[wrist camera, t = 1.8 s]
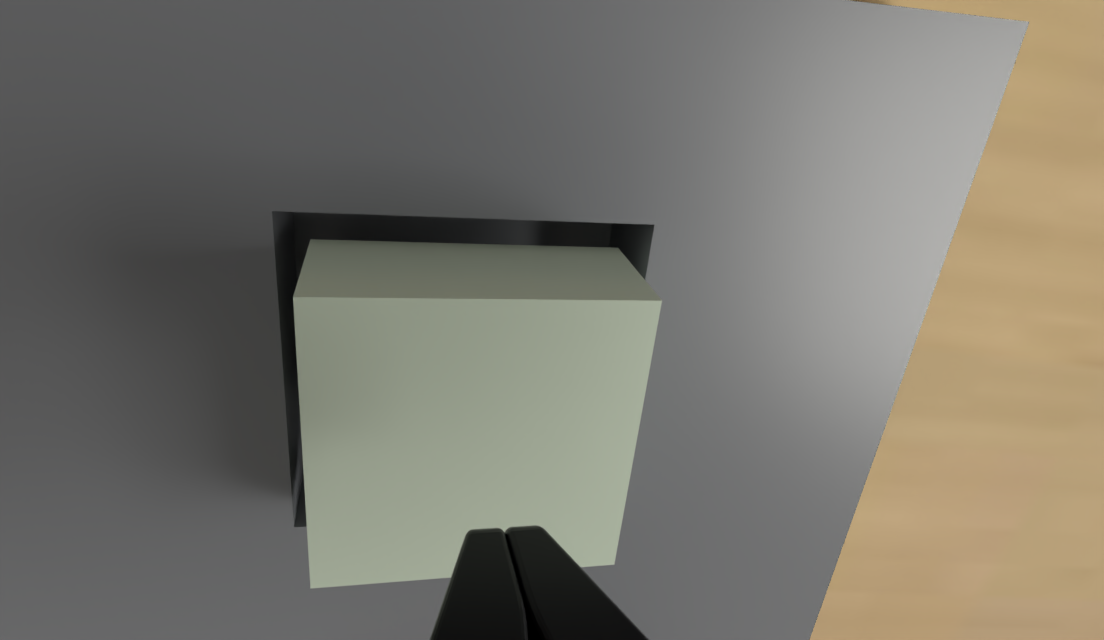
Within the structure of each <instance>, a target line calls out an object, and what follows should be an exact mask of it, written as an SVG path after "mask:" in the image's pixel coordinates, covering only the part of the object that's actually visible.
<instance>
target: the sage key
mask: <svg viewBox="0 0 1104 640" xmlns="http://www.w3.org/2000/svg"><path fill="white" fill-rule="evenodd" d="M661 304H662V300H661V299H660V298H659V296H658V295H657V294H656V293H655V292H654V290H653V289H652V288H651V287H650V286H649V284H648V283H647V282H646V281H645V280H644V278H643V277H642V276H641V275H640V274H639V272H638V271H637V270H636V269H635V268H634V266H633V265H632V264H631V263H630V262H629V260H628V259H627V258H626V257H625V255H624V254H623V253H622V252H621V251H620V249H619V248H611V247H574V246H538V245H501V244H464V243H428V242H391V241H354V240H317V239H310V242H309V246H308V249H307V252H306V256H305V259H304V262H303V266H302V269H301V272H300V276H299V279H298V282H297V286H296V289H295V292H294V296H293V305H294V322H295V339H296V355H297V372H298V389H299V406H300V422H301V439H302V456H303V472H304V489H305V506H306V522H307V539H308V556H309V572H310V589H311V588H324V587H337V586H350V585H362V584H375V583H388V582H400V581H413V580H426V579H438V578H451V576H452V573H453V570H454V567H455V564H456V561H457V558H458V555H459V552H460V549H461V546H462V543H463V540H464V537H465V535H466V533H467V532H468V531H469V530H472V529H485V528H500V529H502V530H503V531H504V532H505V530H506V529H508V528H509V527H516V526H532V525H537V526H541V527H542V528H544V529H545V530H546V531H547V532H548V533H549V534H550V535H551V536H552V537H553V538H554V539H555V541H556V542H557V543H558V544H559V545H560V546H561V547H562V548H563V549H564V550H565V551H566V552H567V553H568V554H569V555H570V556H571V557H572V559H573V560H574V561H575V562H576V563H577V564H578V565H579V566H580V567H591V566H603V565H614V564H615V558H616V553H617V547H618V541H619V536H620V530H621V525H622V519H623V514H624V508H625V503H626V497H627V492H628V486H629V481H630V475H631V470H632V464H633V459H634V453H635V448H636V442H637V437H638V431H639V425H640V420H641V414H642V409H643V403H644V398H645V392H646V387H647V381H648V376H649V370H650V365H651V359H652V354H653V348H654V343H655V337H656V332H657V326H658V321H659V315H660V309H661Z"/></svg>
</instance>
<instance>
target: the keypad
mask: <svg viewBox="0 0 1104 640" xmlns="http://www.w3.org/2000/svg"><path fill="white" fill-rule="evenodd" d="M1028 24H1029V22H1026V21H1017V20H1009V19H1001V18H992V17H984V16H976V15H967V14H959V13H950V12H942V11H934V10H925V9H917V8H908V7H900V6H892V5H883V4H875V3H867V2H858V1H850V0H0V640H430V637H431V634H432V631H433V629H434V626H435V623H436V620H437V617H438V614H439V611H440V608H441V605H442V602H443V599H444V596H445V593H446V590H447V587H448V584H449V582H450V579H451V578H438V579H426V580H413V581H400V582H388V583H375V584H362V585H350V586H337V587H324V588H311V589H310V572H309V556H308V539H307V522H306V506H305V489H304V472H303V456H302V439H301V422H300V406H299V389H298V372H297V355H296V339H295V322H294V305H293V296H294V292H295V289H296V286H297V282H298V279H299V276H300V272H301V269H302V266H303V262H304V259H305V256H306V252H307V249H308V246H309V242H310V239H317V240H354V241H391V242H428V243H464V244H501V245H538V246H574V247H611V248H619V249H620V251H621V252H622V253H623V254H624V255H625V257H626V258H627V259H628V260H629V262H630V263H631V264H632V265H633V266H634V268H635V269H636V270H637V271H638V272H639V274H640V275H641V276H642V277H643V278H644V280H645V281H646V282H647V283H648V284H649V286H650V287H651V288H652V289H653V290H654V292H655V293H656V294H657V295H658V296H659V298H660V299H661V300H662V304H661V309H660V315H659V321H658V326H657V332H656V337H655V343H654V348H653V354H652V359H651V365H650V370H649V376H648V381H647V387H646V392H645V398H644V403H643V409H642V414H641V420H640V425H639V431H638V437H637V442H636V448H635V453H634V459H633V464H632V470H631V475H630V481H629V486H628V492H627V497H626V503H625V508H624V514H623V519H622V525H621V530H620V536H619V541H618V547H617V553H616V558H615V564H614V565H603V566H591V567H581V568H582V569H583V570H584V571H585V572H586V573H587V574H588V575H589V577H590V578H591V579H592V580H593V581H594V582H595V583H596V584H597V585H598V586H599V587H600V588H601V589H602V590H603V591H604V592H605V593H606V595H607V596H608V597H609V598H610V599H611V600H612V601H613V602H614V603H615V604H616V605H617V606H618V607H619V608H620V609H621V610H622V611H623V613H624V614H625V615H626V616H627V617H628V618H629V619H630V620H631V621H632V622H633V623H634V624H635V625H636V626H637V627H638V628H639V629H640V631H641V632H642V633H643V634H644V635H645V636H646V637H647V638H648V639H649V640H809V639H810V636H811V634H812V631H813V628H814V625H815V622H816V620H817V617H818V614H819V611H820V608H821V606H822V603H823V600H824V597H825V594H826V591H827V589H828V586H829V583H830V580H831V577H832V575H833V572H834V569H835V566H836V563H837V561H838V558H839V555H840V552H841V549H842V547H843V544H844V541H845V538H846V535H847V533H848V530H849V527H850V524H851V521H852V518H853V516H854V513H855V510H856V507H857V504H858V502H859V499H860V496H861V493H862V490H863V488H864V485H865V482H866V479H867V476H868V474H869V471H870V468H871V465H872V462H873V460H874V457H875V454H876V451H877V448H878V445H879V443H880V440H881V437H882V434H883V431H884V429H885V426H886V423H887V420H888V417H889V415H890V412H891V409H892V406H893V403H894V401H895V398H896V395H897V392H898V389H899V386H900V384H901V381H902V378H903V375H904V372H905V370H906V367H907V364H908V361H909V358H910V356H911V353H912V350H913V347H914V344H915V342H916V339H917V336H918V333H919V330H920V328H921V325H922V322H923V319H924V316H925V313H926V311H927V308H928V305H929V302H930V299H931V297H932V294H933V291H934V288H935V285H936V283H937V280H938V277H939V274H940V271H941V269H942V266H943V263H944V260H945V257H946V255H947V252H948V249H949V246H950V243H951V240H952V238H953V235H954V232H955V229H956V226H957V224H958V221H959V218H960V215H961V212H962V210H963V207H964V204H965V201H966V198H967V196H968V193H969V190H970V187H971V184H972V182H973V179H974V176H975V173H976V170H977V167H978V165H979V162H980V159H981V156H982V153H983V151H984V148H985V145H986V142H987V139H988V137H989V134H990V131H991V128H992V125H993V123H994V120H995V117H996V114H997V111H998V108H999V106H1000V103H1001V100H1002V97H1003V94H1004V92H1005V89H1006V86H1007V83H1008V80H1009V78H1010V75H1011V72H1012V69H1013V66H1014V64H1015V61H1016V58H1017V55H1018V52H1019V50H1020V47H1021V44H1022V41H1023V38H1024V35H1025V33H1026V30H1027V27H1028Z"/></svg>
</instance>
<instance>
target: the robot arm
mask: <svg viewBox="0 0 1104 640" xmlns="http://www.w3.org/2000/svg"><path fill="white" fill-rule="evenodd" d="M430 640H649V639H648V638H647V637H646V636H645V635H644V634H643V633H642V632H641V631H640V629H639V628H638V627H637V626H636V625H635V624H634V623H633V622H632V621H631V620H630V619H629V618H628V617H627V616H626V615H625V614H624V613H623V611H622V610H621V609H620V608H619V607H618V606H617V605H616V604H615V603H614V602H613V601H612V600H611V599H610V598H609V597H608V596H607V595H606V593H605V592H604V591H603V590H602V589H601V588H600V587H599V586H598V585H597V584H596V583H595V582H594V581H593V580H592V579H591V578H590V577H589V575H588V574H587V573H586V572H585V571H584V570H583V569H582V568H581V567H580V566H579V565H578V564H577V563H576V562H575V561H574V560H573V559H572V557H571V556H570V555H569V554H568V553H567V552H566V551H565V550H564V549H563V548H562V547H561V546H560V545H559V544H558V543H557V542H556V541H555V539H554V538H553V537H552V536H551V535H550V534H549V533H548V532H547V531H546V530H545V529H544V528H542V527H541V526H537V525H532V526H516V527H509V528H508V529H506V530H505V532H504V531H503V530H502V529H500V528H485V529H472V530H469V531H468V532H467V533H466V535H465V537H464V540H463V543H462V546H461V549H460V552H459V555H458V558H457V561H456V564H455V567H454V570H453V573H452V576H451V579H450V582H449V584H448V587H447V590H446V593H445V596H444V599H443V602H442V605H441V608H440V611H439V614H438V617H437V620H436V623H435V626H434V629H433V631H432V634H431V637H430Z"/></svg>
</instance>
